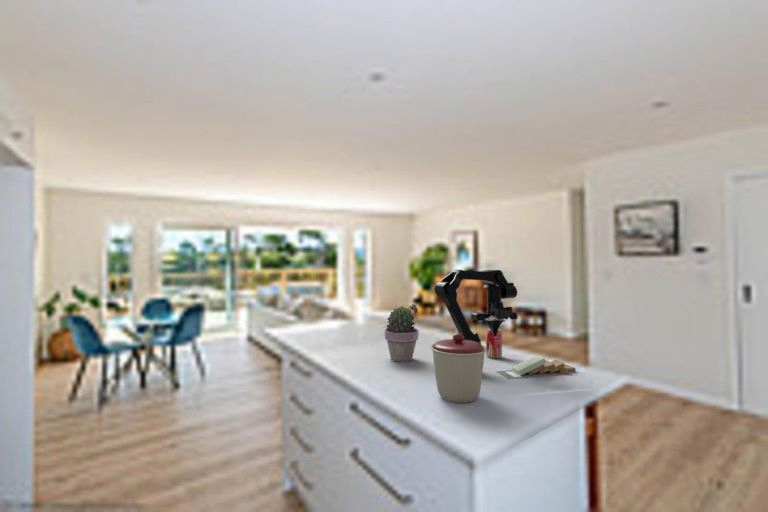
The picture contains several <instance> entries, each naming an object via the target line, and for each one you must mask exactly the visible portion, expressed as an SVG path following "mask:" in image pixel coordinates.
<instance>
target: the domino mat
mask: <svg viewBox="0 0 768 512" xmlns="http://www.w3.org/2000/svg"><path fill="white" fill-rule="evenodd" d="M494 372H495V373H496V374H498V375H500V376H502V377H504V378H506V379H507V380H518V379H532V378H533V379H534V378H545V377H555V376H557V377H558V376H568V375H569V376H570V375H573V372H568V373H559V372H557V371H555V372H553V373H551V374H550V373H548V372H545V373H543V374H541V375H540V374H538V373H534V374H532V375H528V374H526V373H525V374H523V375H521V376H520V375H518V374H516V373H515V372H513V370H498V371H497V370H496V371H494Z"/></svg>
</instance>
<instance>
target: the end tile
mask: <svg viewBox="0 0 768 512" xmlns="http://www.w3.org/2000/svg"><path fill="white" fill-rule="evenodd" d="M564 365H565V367H563V368H561V369H559V370H557V372H559V373H568V372H569V373H576V367H574V366H571V365H569V364H566V363H565V364H564Z"/></svg>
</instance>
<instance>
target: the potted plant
mask: <svg viewBox="0 0 768 512" xmlns="http://www.w3.org/2000/svg"><path fill="white" fill-rule="evenodd" d="M412 311H413V313H412ZM418 311H419V308H418V307H417V305H416V304H415V303H414V304H411V305H410V306H409V307H404V306H399V307H398V308H397V307H394V308H393V311H390V314H389V317H387V318H386V320H387V321H386V322H385V323H386V325H385V327H383V329H384V328H385V330H384V339H385V340H386V342H387V343H386V344H387V348H388V353H389V356H390V360H392V361H394V362H402V363H403V362H405V363H406V362H410V361H412V360H413V357H414V354H415V353H414V352H415V349H416V343H417V341H418V340H419V329H417V328H415V326H414V325H416V322H415V321H414V320H415V319H416V320H417V319H418V317H416V316H415V314H418ZM385 316H388V314H386V315H385ZM387 323H388V324H387Z"/></svg>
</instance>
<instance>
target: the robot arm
mask: <svg viewBox="0 0 768 512" xmlns="http://www.w3.org/2000/svg"><path fill="white" fill-rule="evenodd" d="M463 280H470V281H471V280H472V281H473V280H475V281H482V282H483V283H484V282H485V284H484V285H483V286H482V289H486V291H487V293H486V294H487V295H486V297H487V298H486V299H487V300H485V304H487V305H486V309H487V310H485V312H481V311H478V312H477V311H474V312H472V313H470V315H471V316H470V317H471V318H470V319H471V320H474V321H477V322H478V321H479V322H480V321H481V322H482V321H484V322H486V324H487V326H488V328H490V330H491V332H492V335H493V336H496V334H497V332H498V329H500V327H501V324H502V323H504V322H505V321H506V320H508V319H510V320H518V314H517V312H516V311H513V310H514V309H513V307H512V306H506V307H504V302H503V301H502V299H504V300H505V299H515V298H516V297H517V296H518V290H517V287H516V286H515V285H514V284H515V283H514V282H508V280H507V279H506V276H504V272H503V271H502V270H499V269H485V270H481V271H479V270H478V271H476V270H463V269H453V270H452V271H450V273H449V274H447V275H445V276H444V277H443V278H442V279H440V281H438V282H437V283H436V284H435V285H434V288H433V289H434V293H435V295H436V296H437V298H438V299H440V300H441V302H442V303H444V305H445V307H446V309H447V311H448V314H449V315H450V317H451V320H452V321H453V324H454V326H455V328H456V330H457V333H460V334H462V335H463V336H464V339H463V340H470V341H475V342H478V343H480V344H481V345H482V343H481V342H482V339H480V336H479V334H478V332H476V331H472V330H471V329H470V326H469V324H468V321H467V320H466V318H465V316H464V312H462V309H461V307H460V305H459V303H458V291H457V289H459V287H460V286H461V283H462V281H463Z"/></svg>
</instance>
